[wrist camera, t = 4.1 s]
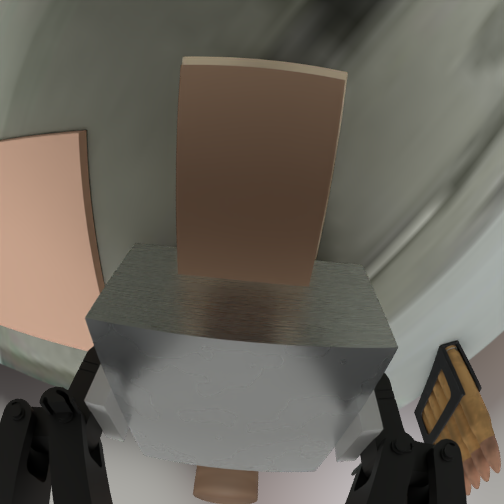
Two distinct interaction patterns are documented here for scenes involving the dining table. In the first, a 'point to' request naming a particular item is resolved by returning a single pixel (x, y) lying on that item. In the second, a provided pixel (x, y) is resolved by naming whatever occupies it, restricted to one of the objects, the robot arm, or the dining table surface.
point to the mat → (48, 238)
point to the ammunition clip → (458, 414)
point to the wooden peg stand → (252, 185)
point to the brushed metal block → (238, 361)
